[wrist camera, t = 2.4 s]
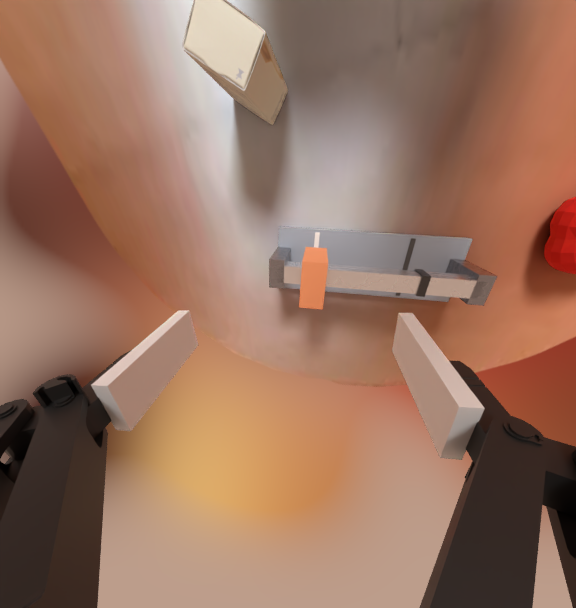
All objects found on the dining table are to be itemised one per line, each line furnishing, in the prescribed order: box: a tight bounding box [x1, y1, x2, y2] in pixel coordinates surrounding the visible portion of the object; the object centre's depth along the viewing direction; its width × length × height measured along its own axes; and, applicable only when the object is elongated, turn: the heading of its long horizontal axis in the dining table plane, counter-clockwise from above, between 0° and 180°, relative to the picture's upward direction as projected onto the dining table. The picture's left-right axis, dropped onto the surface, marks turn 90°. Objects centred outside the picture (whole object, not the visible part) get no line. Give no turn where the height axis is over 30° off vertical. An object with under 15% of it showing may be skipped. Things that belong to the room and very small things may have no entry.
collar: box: [299, 247, 328, 310], centre depth 31 cm, size 3×6×8 cm, turn 177°
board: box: [278, 226, 473, 302], centre depth 37 cm, size 28×10×1 cm, turn 88°
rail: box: [269, 247, 497, 306], centre depth 33 cm, size 28×4×7 cm, turn 87°
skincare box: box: [182, 0, 288, 125], centre depth 24 cm, size 6×4×12 cm
